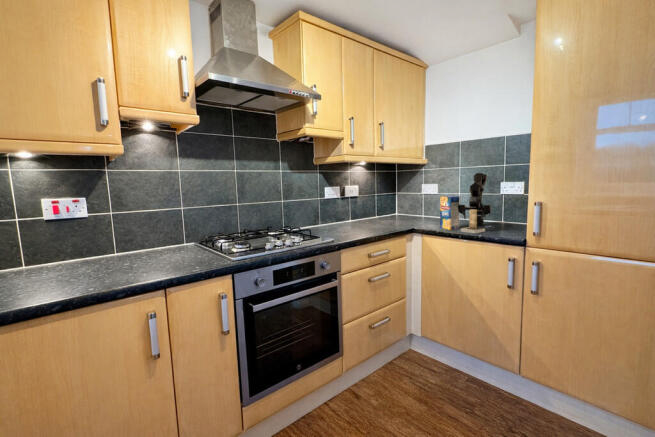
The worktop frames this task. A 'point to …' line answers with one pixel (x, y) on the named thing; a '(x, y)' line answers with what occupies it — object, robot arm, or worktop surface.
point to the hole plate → (472, 230)
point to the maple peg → (472, 219)
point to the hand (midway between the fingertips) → (472, 219)
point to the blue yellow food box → (449, 212)
